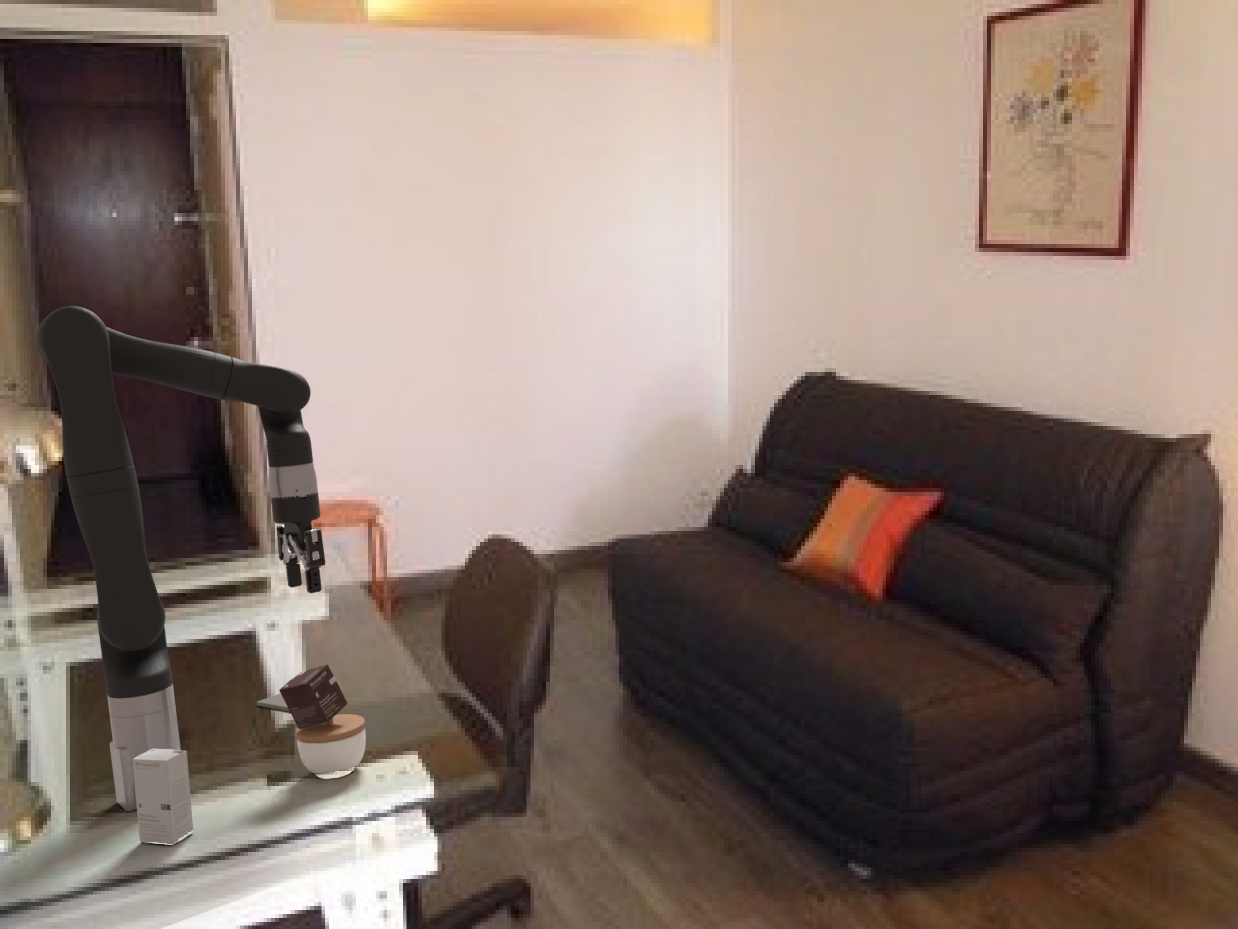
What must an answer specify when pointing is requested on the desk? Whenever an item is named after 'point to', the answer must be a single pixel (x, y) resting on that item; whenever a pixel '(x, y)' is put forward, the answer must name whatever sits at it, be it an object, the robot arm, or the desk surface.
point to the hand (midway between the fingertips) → (304, 589)
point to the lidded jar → (332, 744)
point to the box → (313, 697)
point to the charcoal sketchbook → (274, 703)
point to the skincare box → (162, 795)
